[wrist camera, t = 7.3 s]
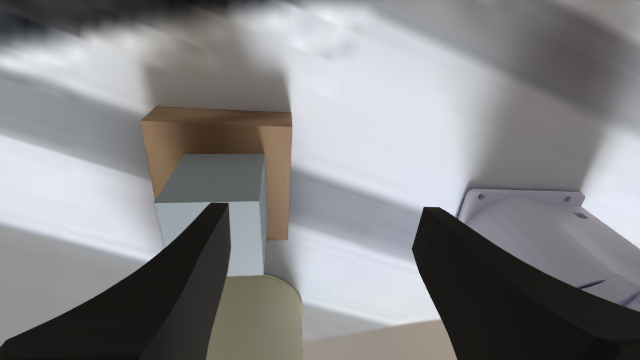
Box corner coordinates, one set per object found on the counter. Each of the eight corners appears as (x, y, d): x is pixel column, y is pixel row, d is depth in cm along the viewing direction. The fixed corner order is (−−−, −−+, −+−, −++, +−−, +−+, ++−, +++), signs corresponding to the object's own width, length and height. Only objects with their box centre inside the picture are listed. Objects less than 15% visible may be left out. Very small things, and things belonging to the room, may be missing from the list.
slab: (291, 110, 21) (292, 127, 19) (287, 214, 25) (287, 239, 23) (158, 104, 20) (140, 121, 18) (175, 213, 24) (162, 239, 22)
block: (264, 153, 19) (259, 201, 15) (267, 217, 22) (263, 275, 17) (183, 154, 19) (153, 203, 15) (195, 219, 21) (172, 278, 17)
